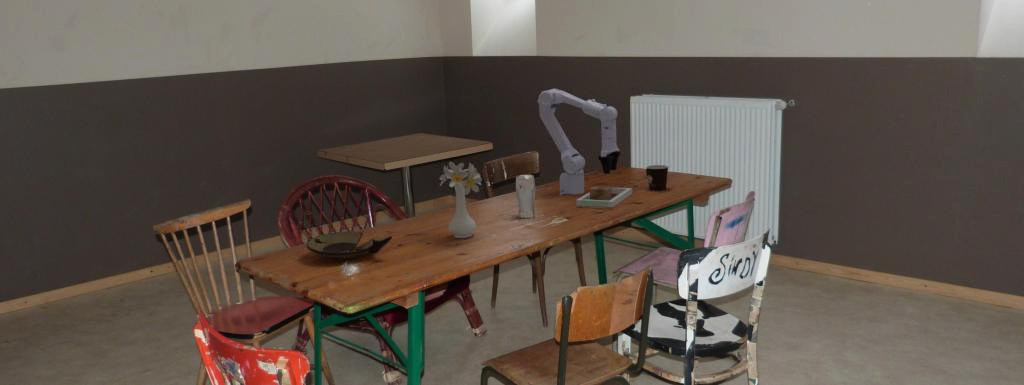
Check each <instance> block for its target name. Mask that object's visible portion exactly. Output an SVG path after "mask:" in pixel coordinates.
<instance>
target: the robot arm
mask: <svg viewBox="0 0 1024 385" xmlns="http://www.w3.org/2000/svg"><path fill="white" fill-rule="evenodd" d="M537 103H538V110H539V117H540V119H541V121H542V123H543V124H544V126H545V129H546V130H547V132H548V133H549V135H550V136H551V138H552V141H554V144H555V145H556V147H557V149H558V151H559V153H560V155H561V157H560V159H561V160H560V161H561V163H562V166H563V167H562V168H563V170H564V172H561V174H560V176H559V196H563V194H564V195H582V194H584V193H585V176H584V172H585V171H584V168H585V166H586V159H585V158H584V156H583V155H581V154H580V153H579V152H578V150H577V149H576V148H574V147H573V145H572V144H571V142H570V140H569V138H568V137H567V135H566V133H565V131H564V130H563V128H562V126H561V124H560V122H559V121H558V119H557V118H556V115H555V112H556V109H557V107H558V105H559V104H564V103H565V104H568V105H570V106H574V107H576V108H579V109H582V112H583V113H584V114H586V115H588V116H591V117H593V118H596V119H599V120H600V122H601V126H600V127H601V151H600V155H598V156H597V158H598V160H599V163H600V165H601V166H602V171H603V174H604V175H609V174H611V171H616V170H617V165H618V161H619V157H620V155H621V151H620V148H618V145H617V124H616V123H617V120H616V119H617V118H618V115H619V114H618V110H617V109H616V108H615V107H613V105H610V106H609V105H608V106H607V104H605V103H603V104H602V103H599V102H597V100H596V99H594V98H592V99H587V100H584V99H582V98H579V97H578V96H575V95H573V94H571V93H569V92H566V91H564V90H561V89H558V88H551V89H548V90H543V91H541V93H540V94H539V95H538V98H537Z"/></svg>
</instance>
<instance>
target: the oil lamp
mask: <svg viewBox="0 0 1024 385" xmlns="http://www.w3.org/2000/svg"><path fill="white" fill-rule="evenodd" d="M362 237H363V233H362V232H360V231H337V232H333V233H332V232H331V233H325V234H320V235H315V237H311V238H308V239H307V242H306V248H307V249H308V250H309V251H311V253H314V254H317V255H319V256H323V257H325V258H330V259H337V260H340V259H341V260H344V259H343V258H347V259H352V257H353V258H357V257H360V256H364V255H367V254H369V255H375V254H378V252H380V251H381V249H383V247H385V246H386V245H387V244H388V243H389V242H390V241H391V240H392V239H393V236H392V235H388V236H386V237H384V238H383V237H381V236H376V237H373V238H371V239H369V240H368V241H366V242H364V243H362V244H361V245H358V244H359V243H360V241H361V239H362ZM351 250H352V251H351ZM355 250H356V251H355ZM347 251H350V252H347Z"/></svg>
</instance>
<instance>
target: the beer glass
mask: <svg viewBox="0 0 1024 385" xmlns="http://www.w3.org/2000/svg"><path fill="white" fill-rule="evenodd" d="M515 192H516V197H517V198H516V199H517V202H518V206H519V207H518V208H519V209H518V218H519V219H532V218H534V217H536V213H535V209H534V208H535V207H534V206H535V203H534V202H535V196H536V182H535V176H534V174H533V175H532V174H520V175H516V177H515Z"/></svg>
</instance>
